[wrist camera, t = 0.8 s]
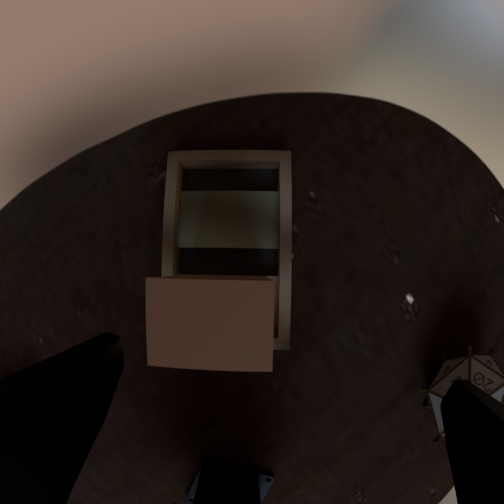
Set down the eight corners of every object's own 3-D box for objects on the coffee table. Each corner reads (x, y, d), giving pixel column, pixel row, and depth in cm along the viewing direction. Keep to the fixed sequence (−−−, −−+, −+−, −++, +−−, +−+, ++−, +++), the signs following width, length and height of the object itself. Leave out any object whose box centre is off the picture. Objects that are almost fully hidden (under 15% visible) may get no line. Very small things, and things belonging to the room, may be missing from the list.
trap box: (286, 342, 24) (289, 349, 21) (169, 338, 24) (162, 345, 21) (287, 160, 24) (290, 150, 22) (175, 160, 24) (168, 151, 22)
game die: (409, 377, 27) (388, 401, 19) (473, 320, 24) (482, 323, 16) (453, 440, 22) (447, 486, 14) (519, 386, 20) (542, 414, 12)
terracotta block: (265, 332, 22) (272, 371, 13) (186, 329, 22) (147, 365, 13) (265, 276, 22) (274, 280, 13) (187, 274, 22) (145, 277, 13)
